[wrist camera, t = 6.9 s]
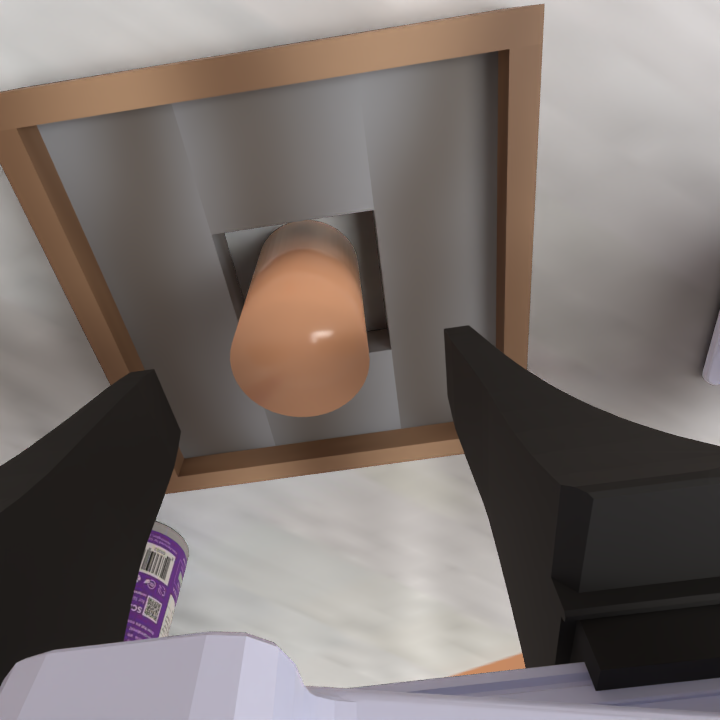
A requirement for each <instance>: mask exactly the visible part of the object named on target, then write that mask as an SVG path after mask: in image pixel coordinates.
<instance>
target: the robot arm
mask: <svg viewBox="0 0 720 720" xmlns="http://www.w3.org/2000/svg"><path fill="white" fill-rule="evenodd" d="M444 343H445V361H446V379H447V396H448V400H449V405H450V409H451V413H452V417H453V422H454V426H455V430H456V432H457V435H458V438H459V440H460V443H461V446H462V448H463V451H464V454H465V456H466V459H467V461H468V464H469V467H470V469H471V472H472V474H473V477H474V480H475V482H476V485H477V487H478V490H479V493H480V495H481V498H482V500H483V503H484V506H485V509H486V512H487V515H488V518H489V522H490V526H491V529H492V533H493V537H494V541H495V544H496V548H497V552H498V556H499V560H500V563H501V567H502V571H503V575H504V579H505V583H506V587H507V591H508V595H509V599H510V603H511V607H512V612H513V616H514V620H515V624H516V628H517V632H518V636H519V641H520V645H521V649H522V654H523V658H524V662H525V667H526V668H525V669H516V670H507V671H498V672H489V673H480V674H472V675H463V676H453V677H444V678H435V679H426V680H417V681H408V682H399V683H390V684H382V685H373V686H364V687H355V688H331V687H315V686H305V685H304V683H303V681H302V678H301V676H300V673H299V671H298V668H297V666H296V664H295V663H294V662H293V661H292V660H291V659H290V658H289V657H288V656H287V655H286V654H285V653H284V652H283V651H282V650H281V649H280V648H279V647H278V646H277V645H276V644H275V643H274V642H271V641H268V640H265V639H262V638H259V637H256V636H254V635H251V634H248V633H242V632H202V633H194V634H185V635H177V636H168V637H160V638H151V639H143V640H134V641H125V642H124V637H125V632H126V627H127V623H128V618H129V613H130V608H131V603H132V598H133V594H134V590H135V586H136V582H137V578H138V573H139V569H140V565H141V561H142V558H143V555H144V551H145V548H146V545H147V542H148V539H149V537H150V534H151V531H152V528H153V526H154V523H155V520H156V517H157V515H158V512H159V509H160V506H161V504H162V501H163V498H164V495H165V493H166V490H167V487H168V484H169V481H170V478H171V475H172V472H173V469H174V466H175V462H176V457H177V452H178V447H179V441H180V435H181V430H180V428H179V425H178V423H177V421H176V418H175V416H174V414H173V412H172V409H171V407H170V405H169V402H168V400H167V398H166V395H165V393H164V391H163V388H162V386H161V384H160V381H159V379H158V377H157V374H156V372H155V370H154V369H150V370H143V371H136V372H130V373H128V374H127V375H125V376H124V377H122V378H121V379H119V380H118V381H116V382H115V383H114V384H112V385H111V386H110V387H108V388H107V389H106V390H104V391H103V392H102V393H100V394H99V395H98V396H97V397H95V398H94V399H93V400H91V401H90V402H89V403H88V404H86V405H85V406H84V407H83V408H81V409H80V410H79V411H77V412H76V413H75V414H74V415H72V416H71V417H70V418H68V419H67V420H66V421H65V422H63V423H62V424H60V425H59V426H58V427H56V428H55V429H54V430H52V431H51V432H49V433H48V434H47V435H45V436H44V437H43V438H41V439H40V440H38V441H37V442H36V443H34V444H33V445H32V446H30V447H29V448H27V449H26V450H24V451H23V452H22V453H20V454H19V455H17V456H16V457H14V458H12V459H11V460H9V461H8V462H6V463H5V464H3V465H1V466H0V720H720V446H717V445H713V444H708V443H704V442H700V441H696V440H692V439H688V438H684V437H680V436H676V435H672V434H669V433H665V432H662V431H659V430H656V429H653V428H649V427H646V426H643V425H640V424H637V423H634V422H631V421H629V420H626V419H623V418H620V417H618V416H615V415H613V414H610V413H608V412H606V411H603V410H601V409H598V408H596V407H593V406H591V405H589V404H587V403H585V402H582V401H580V400H578V399H576V398H574V397H572V396H571V395H569V394H567V393H565V392H563V391H561V390H559V389H557V388H555V387H553V386H552V385H550V384H548V383H546V382H545V381H543V380H542V379H540V378H538V377H537V376H535V375H534V374H532V373H531V372H529V371H527V370H526V369H524V368H523V367H522V366H520V365H519V364H517V363H516V362H515V361H513V360H512V359H510V358H509V357H508V356H506V355H505V354H504V353H503V352H501V351H500V350H499V349H497V348H496V347H495V346H494V345H492V344H491V343H490V342H489V341H488V340H486V339H485V338H484V337H483V336H482V335H480V334H479V333H478V332H477V331H475V330H474V329H473V328H472V327H471V326H469V325H467V326H460V327H453V328H445V329H444ZM702 377H703V378H704V380H706V381H707V382H708V383H709V384H711V385H720V311H719V315H718V318H717V322H716V325H715V329H714V333H713V336H712V340H711V344H710V347H709V351H708V354H707V358H706V362H705V365H704V369H703V373H702Z"/></svg>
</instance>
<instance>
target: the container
mask: <svg viewBox="0 0 720 720" xmlns="http://www.w3.org/2000/svg"><path fill="white" fill-rule="evenodd" d="M188 556H189V550H188V546H187V544H186V542H185V541H184V539H183V538H182V537H181V536H180V535H179V534H178V533H177V532H176V531H174V530H173V529H171V528H169V527H168V526H166V525H163V524H161V523H158V522H155V523H154V526H153V528H152V531H151V534H150V537H149V539H148V542H147V545H146V548H145V551H144V555H143V558H142V561H141V565H140V569H139V573H138V578H137V582H136V586H135V590H134V594H133V598H132V603H131V608H130V613H129V618H128V623H127V627H126V632H125V637H124V642H125V641H134V640H143V639H151V638H160V637H167V636H168V633H169V629H170V625H171V621H172V618H173V614H174V610H175V606H176V603H177V599H178V595H179V591H180V588H181V584H182V580H183V576H184V572H185V569H186V565H187V560H188Z"/></svg>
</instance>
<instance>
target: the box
mask: <svg viewBox="0 0 720 720" xmlns="http://www.w3.org/2000/svg"><path fill="white" fill-rule="evenodd" d="M543 25H544V4H539V5H531V6H522V7H513V8H507V9H500V10H494V11H488V12H482V13H476V14H470V15H464V16H458V17H452V18H445V19H439V20H433V21H427V22H421V23H415V24H409V25H403V26H397V27H390V28H384V29H378V30H372V31H366V32H360V33H354V34H348V35H342V36H335V37H329V38H323V39H317V40H311V41H305V42H299V43H293V44H287V45H280V46H274V47H268V48H262V49H256V50H250V51H244V52H238V53H231V54H225V55H219V56H213V57H207V58H201V59H195V60H189V61H183V62H176V63H170V64H164V65H158V66H152V67H146V68H140V69H134V70H128V71H121V72H115V73H109V74H103V75H97V76H91V77H85V78H79V79H73V80H66V81H60V82H54V83H48V84H42V85H36V86H30V87H24V88H18V89H13V90H8V91H2V92H0V164H1V166H2V168H3V170H4V172H5V174H6V176H7V178H8V180H9V182H10V184H11V186H12V188H13V190H14V192H15V194H16V196H17V198H18V200H19V202H20V204H21V206H22V208H23V210H24V212H25V214H26V216H27V218H28V220H29V222H30V224H31V226H32V228H33V230H34V232H35V234H36V236H37V238H38V240H39V242H40V244H41V246H42V248H43V250H44V252H45V254H46V256H47V258H48V260H49V262H50V264H51V266H52V268H53V270H54V272H55V274H56V276H57V278H58V281H59V283H60V285H61V287H62V289H63V291H64V293H65V295H66V297H67V299H68V301H69V303H70V305H71V307H72V309H73V311H74V313H75V315H76V317H77V319H78V321H79V323H80V325H81V327H82V329H83V331H84V333H85V335H86V337H87V339H88V341H89V343H90V345H91V347H92V349H93V351H94V353H95V355H96V357H97V359H98V361H99V363H100V365H101V367H102V369H103V371H104V373H105V375H106V377H107V379H108V381H109V383H110V385H112V384H114V383H115V382H116V381H118V380H119V379H121V378H122V377H124V376H125V375H127V374H128V373H130V372H136V371H143V370H150V369H154V370H155V372H156V374H157V377H158V379H159V381H160V384H161V386H162V388H163V391H164V393H165V395H166V398H167V400H168V402H169V405H170V407H171V409H172V412H173V414H174V416H175V418H176V421H177V423H178V425H179V428H180V430H181V435H180V441H179V447H178V452H177V457H176V462H175V466H174V469H173V472H172V475H171V478H170V481H169V484H168V487H167V490H166V493H165V494H169V493H177V492H184V491H191V490H199V489H206V488H214V487H221V486H229V485H236V484H243V483H251V482H258V481H266V480H273V479H280V478H288V477H295V476H303V475H310V474H318V473H325V472H332V471H340V470H347V469H355V468H362V467H370V466H377V465H384V464H392V463H399V462H407V461H414V460H421V459H429V458H436V457H444V456H451V455H459V454H464V451H463V448H462V446H461V443H460V440H459V438H458V435H457V432H456V430H455V426H454V422H453V417H452V413H451V409H450V405H449V400H448V396H447V379H446V361H445V343H444V329H445V328H453V327H460V326H467V325H469V326H471V327H472V328H473V329H474V330H475V331H477V332H478V333H479V334H480V335H482V336H483V337H484V338H485V339H486V340H488V341H489V342H490V343H491V344H492V345H494V346H495V347H496V348H497V349H499V350H500V351H501V352H503V353H504V354H505V355H506V356H508V357H509V358H510V359H512V360H513V361H515V362H516V363H517V364H519V365H520V366H522V367H523V368H524V369H526V370H527V355H528V335H529V314H530V293H531V273H532V252H533V231H534V211H535V190H536V169H537V149H538V128H539V107H540V87H541V66H542V45H543ZM371 210H373V217H374V225H375V233H376V241H377V249H378V257H379V265H380V273H381V281H382V289H383V297H384V305H385V313H386V321H387V329H383V330H376V331H369V332H367V341H368V349H369V358H370V362H369V370H368V375H367V377H366V380H365V382H364V384H363V386H362V388H361V389H360V390H359V392H358V393H357V394H356V395H355V396H354V397H353V398H352V399H351V400H350V401H349V402H347V403H346V404H345V405H343V406H341V407H340V408H338V409H336V410H334V411H332V412H329V413H326V414H322V415H318V416H311V417H293V416H286V415H281V414H278V413H275V412H272V411H270V410H267V409H265V408H263V407H262V406H260V405H258V404H257V403H255V402H254V401H253V400H251V399H250V398H249V397H248V396H247V395H246V394H245V393H244V392H243V390H242V389H241V388H240V386H239V385H238V383H237V382H236V380H235V377H234V375H233V372H232V369H231V363H230V350H231V345H232V342H233V338H234V335H235V332H236V329H237V325H238V322H239V319H240V316H241V312H242V309H243V306H244V300H243V296H242V293H241V289H240V286H239V282H238V279H237V275H236V272H235V269H234V265H233V262H232V258H231V255H230V251H229V248H228V244H227V241H226V238H225V234H224V233H226V232H232V231H239V230H245V229H252V228H259V227H265V226H272V225H278V224H285V223H292V222H298V221H305V220H311V219H318V218H325V217H331V216H338V215H344V214H351V213H357V212H364V211H371Z"/></svg>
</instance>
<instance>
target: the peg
mask: <svg viewBox="0 0 720 720" xmlns="http://www.w3.org/2000/svg"><path fill="white" fill-rule="evenodd" d="M369 362H370V358H369V349H368V341H367V332H366V324H365V316H364V307H363V299H362V291H361V282H360V274H359V266H358V259H357V255H356V253H355V250H354V248H353V246H352V244H351V243H350V242H349V240H348V239H347V238H346V237H345V236H344V235H343V234H342V233H341V232H340V231H338V230H337V229H336V228H334V227H332V226H330V225H328V224H325V223H322V222H319V221H313V220H305V221H298V222H292V223H288V224H286V225H284V226H282V227H280V228H278V229H277V230H276V231H274V232H273V233H272V234H271V235H270V236H269V237H268V239H267V240H266V241H265V243H264V245H263V247H262V249H261V252H260V254H259V258H258V261H257V264H256V267H255V271H254V274H253V277H252V280H251V283H250V287H249V290H248V293H247V296H246V300H245V303H244V306H243V309H242V312H241V316H240V319H239V322H238V325H237V329H236V332H235V335H234V338H233V342H232V345H231V350H230V363H231V369H232V372H233V375H234V377H235V380H236V382H237V383H238V385H239V386H240V388H241V389H242V390H243V392H244V393H245V394H246V395H247V396H248V397H249V398H250V399H251V400H253V401H254V402H255V403H257V404H258V405H260V406H262V407H263V408H265V409H267V410H270V411H272V412H275V413H278V414H281V415H286V416H293V417H311V416H318V415H322V414H326V413H329V412H332V411H334V410H336V409H338V408H340V407H341V406H343V405H345V404H346V403H347V402H349V401H350V400H351V399H352V398H353V397H354V396H355V395H356V394H357V393H358V392H359V390H360V389H361V388H362V386H363V384H364V382H365V380H366V377H367V375H368V370H369Z"/></svg>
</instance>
